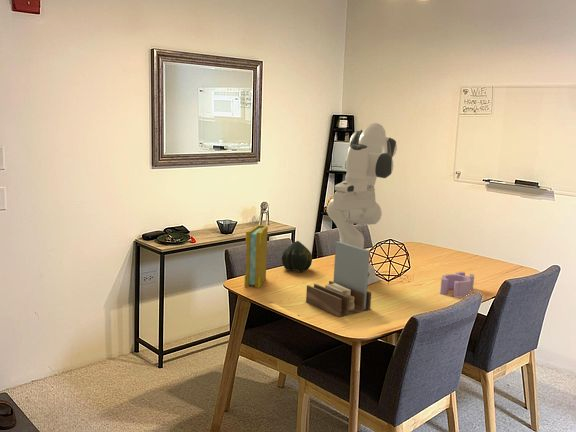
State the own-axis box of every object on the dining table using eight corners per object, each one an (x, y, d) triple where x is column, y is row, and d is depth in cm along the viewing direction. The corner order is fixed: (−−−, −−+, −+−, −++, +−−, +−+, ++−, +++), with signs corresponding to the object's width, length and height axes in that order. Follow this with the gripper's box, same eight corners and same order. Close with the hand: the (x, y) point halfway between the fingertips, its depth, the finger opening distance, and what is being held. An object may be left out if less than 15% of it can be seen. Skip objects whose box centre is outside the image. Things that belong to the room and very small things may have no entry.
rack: (336, 298, 248) (337, 279, 246) (371, 312, 231) (373, 292, 230) (303, 305, 237) (304, 285, 235) (338, 321, 221) (339, 300, 219)
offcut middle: (332, 294, 239) (333, 289, 239) (354, 303, 230) (354, 296, 230) (324, 297, 236) (324, 291, 235) (345, 305, 227) (345, 299, 227)
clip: (454, 284, 276) (455, 270, 275) (479, 290, 268) (481, 275, 267) (434, 293, 261) (436, 278, 260) (460, 299, 253) (462, 284, 252)
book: (258, 287, 257) (260, 232, 253) (244, 286, 259) (245, 231, 254) (267, 277, 274) (269, 225, 269) (254, 276, 275) (255, 224, 270)
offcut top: (334, 289, 239) (335, 283, 238) (350, 295, 231) (350, 289, 230) (325, 290, 236) (325, 284, 236) (340, 297, 228) (341, 291, 227)
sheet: (335, 296, 245) (338, 241, 241) (365, 309, 231) (369, 250, 227) (332, 297, 244) (335, 241, 240) (362, 309, 230) (366, 251, 226)
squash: (295, 265, 276) (308, 239, 281) (272, 260, 285) (285, 235, 291) (309, 280, 285) (321, 255, 291) (286, 275, 295) (298, 250, 300)
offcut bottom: (330, 299, 241) (331, 293, 240) (354, 309, 230) (354, 303, 229) (321, 301, 238) (322, 295, 237) (345, 311, 227) (345, 305, 226)
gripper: (369, 183, 237) (366, 216, 240) (331, 186, 225) (329, 220, 228) (380, 185, 232) (377, 219, 235) (342, 188, 220) (340, 223, 223)
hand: (353, 220), depth 231 cm, fingers open, 8 cm apart
